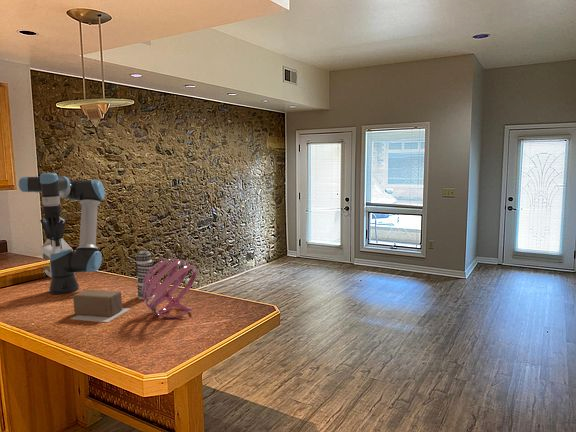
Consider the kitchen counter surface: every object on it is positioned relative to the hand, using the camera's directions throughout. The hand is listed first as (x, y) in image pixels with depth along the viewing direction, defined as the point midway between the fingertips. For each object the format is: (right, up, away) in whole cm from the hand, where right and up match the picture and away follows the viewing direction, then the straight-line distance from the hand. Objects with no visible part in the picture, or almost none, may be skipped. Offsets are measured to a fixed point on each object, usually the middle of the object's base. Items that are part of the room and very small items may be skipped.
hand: (56, 252), depth 215 cm
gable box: (-38, -20, +74) cm, 86 cm away
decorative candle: (+37, -26, +22) cm, 50 cm away
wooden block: (+12, -24, -1) cm, 27 cm away
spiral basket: (+57, -29, -3) cm, 64 cm away
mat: (+23, -29, -3) cm, 38 cm away
